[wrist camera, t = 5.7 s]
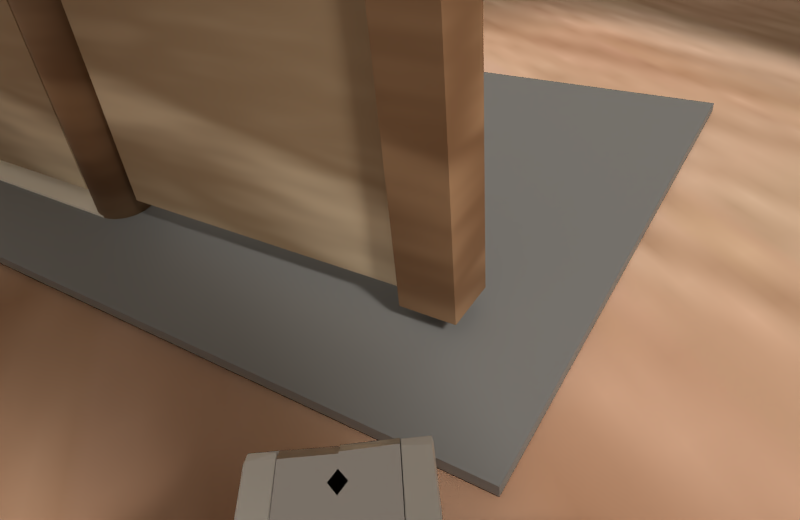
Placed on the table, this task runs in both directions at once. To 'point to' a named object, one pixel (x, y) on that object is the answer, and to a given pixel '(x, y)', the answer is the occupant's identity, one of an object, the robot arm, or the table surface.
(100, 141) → the fence fixed
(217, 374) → the table surface
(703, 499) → the table surface
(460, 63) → the fence panel
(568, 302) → the board
